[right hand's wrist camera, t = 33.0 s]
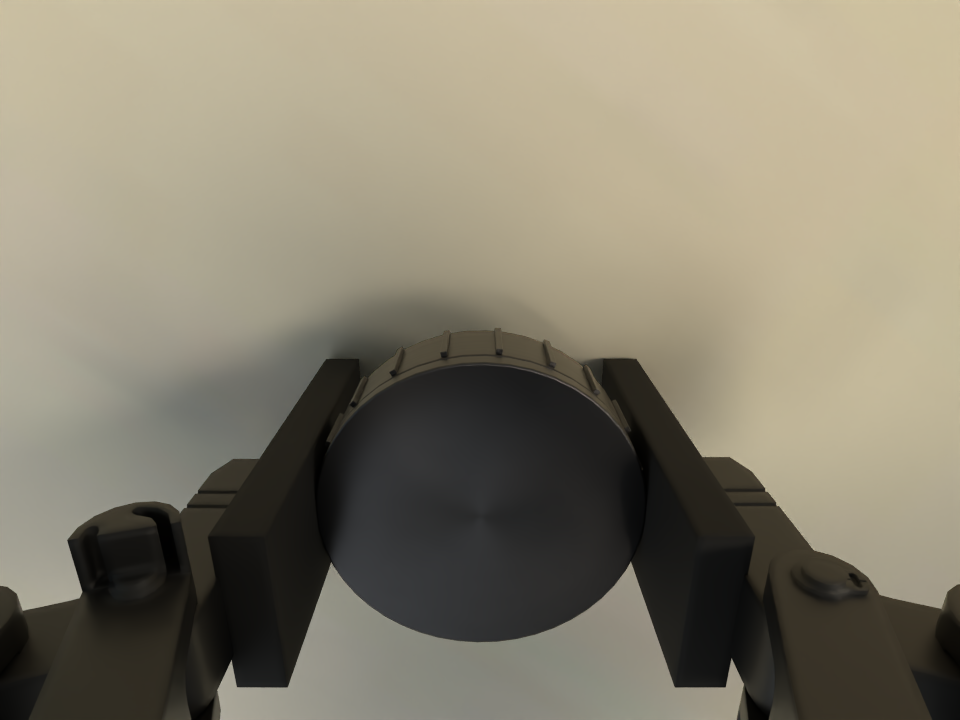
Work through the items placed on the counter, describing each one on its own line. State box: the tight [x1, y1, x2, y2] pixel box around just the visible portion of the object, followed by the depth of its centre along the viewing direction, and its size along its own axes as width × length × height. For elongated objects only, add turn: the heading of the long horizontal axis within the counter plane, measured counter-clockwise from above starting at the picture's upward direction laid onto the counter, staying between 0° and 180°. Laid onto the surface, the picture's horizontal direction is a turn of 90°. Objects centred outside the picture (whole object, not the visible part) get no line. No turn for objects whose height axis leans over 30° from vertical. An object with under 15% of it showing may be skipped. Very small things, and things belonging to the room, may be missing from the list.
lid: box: [316, 328, 647, 642], centre depth 11 cm, size 6×6×2 cm
